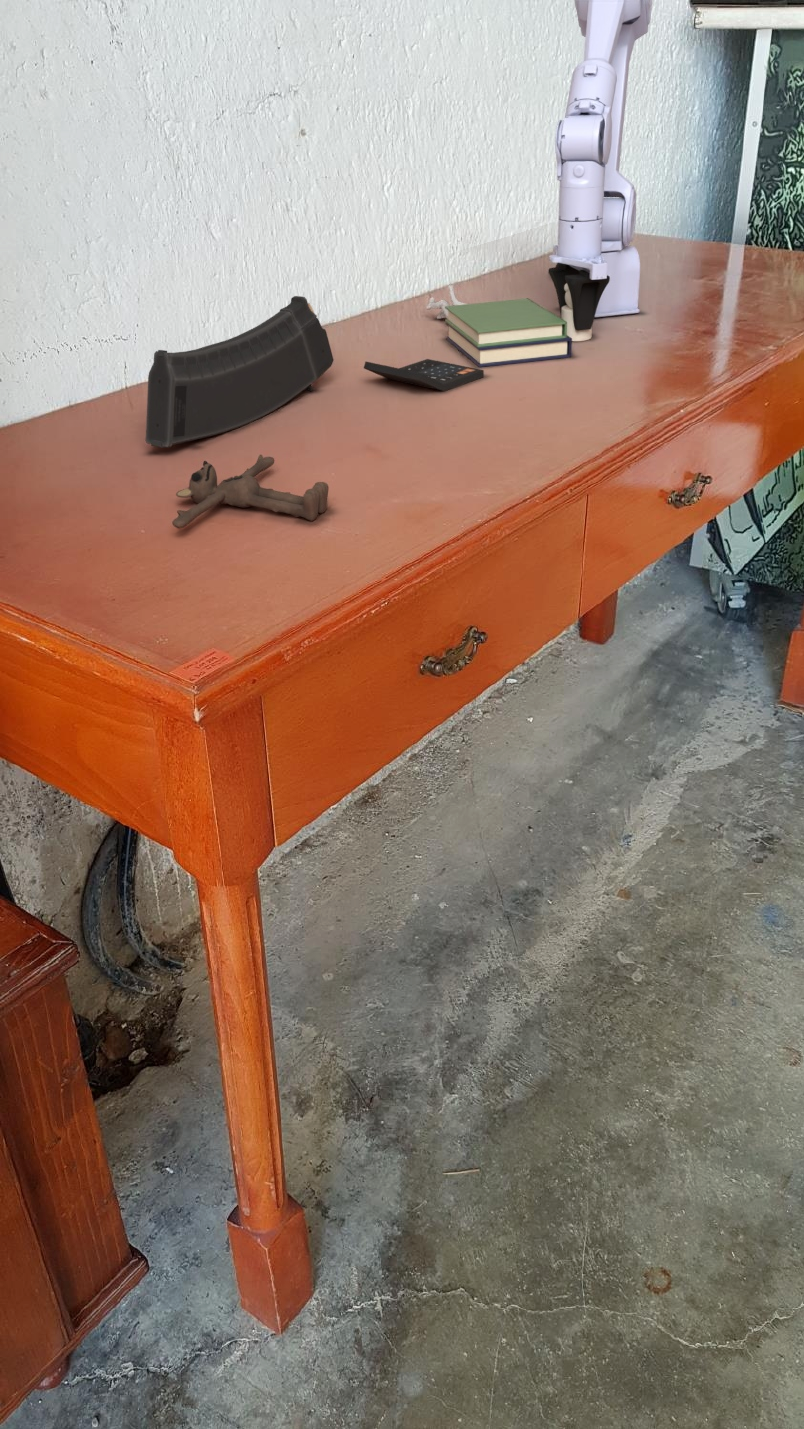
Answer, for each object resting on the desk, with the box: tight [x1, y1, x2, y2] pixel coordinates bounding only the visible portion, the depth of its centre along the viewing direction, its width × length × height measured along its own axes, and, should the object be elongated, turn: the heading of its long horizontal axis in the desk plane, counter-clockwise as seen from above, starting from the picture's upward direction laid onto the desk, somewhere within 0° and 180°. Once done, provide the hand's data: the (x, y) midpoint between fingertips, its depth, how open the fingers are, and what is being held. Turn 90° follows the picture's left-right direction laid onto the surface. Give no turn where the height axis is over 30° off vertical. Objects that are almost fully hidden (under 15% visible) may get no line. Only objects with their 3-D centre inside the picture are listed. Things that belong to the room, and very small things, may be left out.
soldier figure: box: [425, 283, 467, 320], centre depth 164 cm, size 8×5×12 cm
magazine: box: [145, 295, 334, 449], centre depth 129 cm, size 17×3×30 cm
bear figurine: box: [171, 454, 329, 529], centre depth 107 cm, size 18×4×14 cm
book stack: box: [444, 297, 573, 368], centre depth 153 cm, size 12×16×4 cm
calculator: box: [363, 358, 485, 392], centre depth 141 cm, size 9×12×3 cm
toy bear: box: [560, 283, 593, 342], centre depth 155 cm, size 4×4×7 cm
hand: (576, 325), depth 156 cm, fingers open, 4 cm apart
